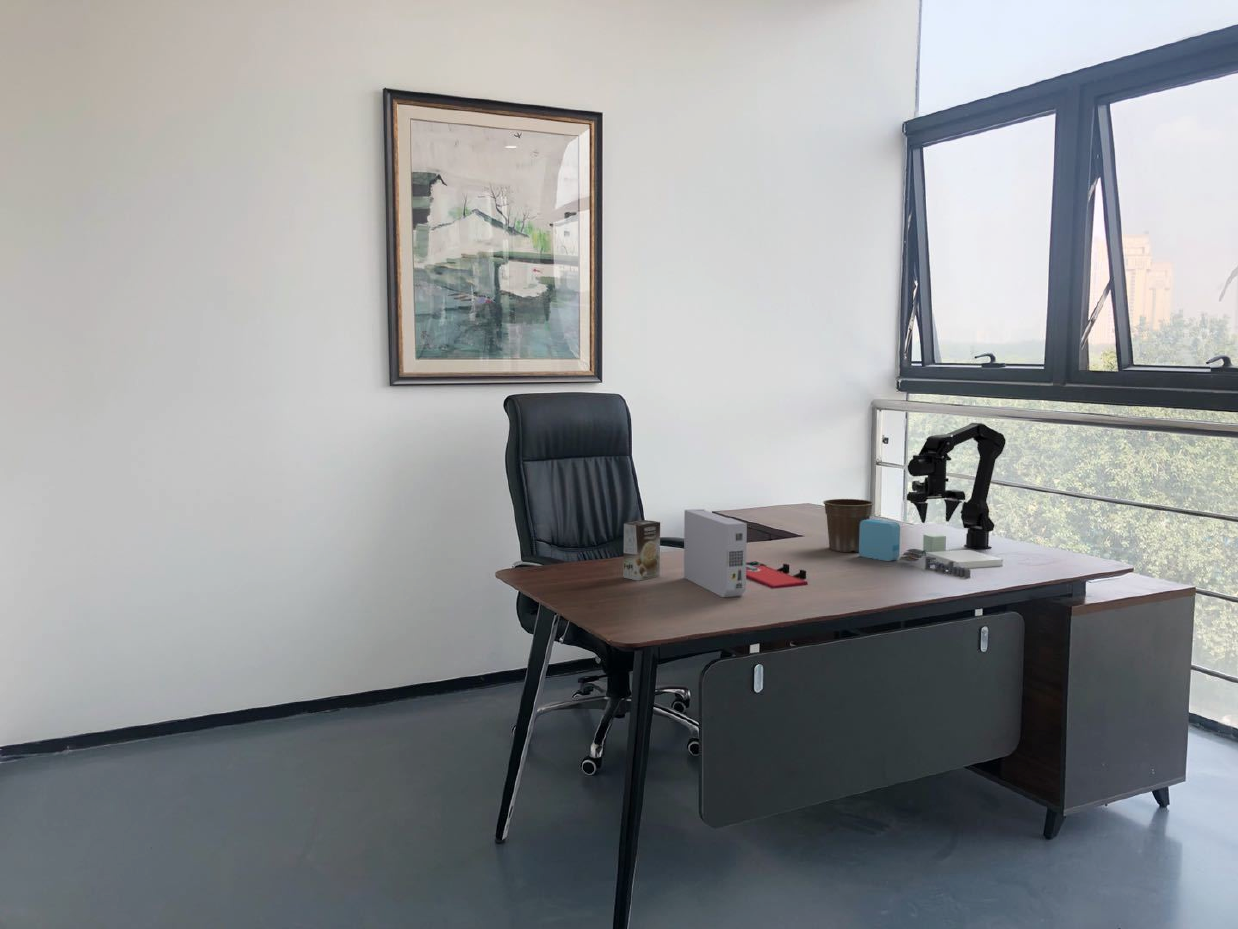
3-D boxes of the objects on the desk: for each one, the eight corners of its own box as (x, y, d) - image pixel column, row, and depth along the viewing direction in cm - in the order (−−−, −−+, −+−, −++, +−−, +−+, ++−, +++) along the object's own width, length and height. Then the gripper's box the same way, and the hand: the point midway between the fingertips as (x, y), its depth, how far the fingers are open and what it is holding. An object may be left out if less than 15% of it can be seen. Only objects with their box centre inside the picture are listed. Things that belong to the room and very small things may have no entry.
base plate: (968, 555, 299) (968, 549, 298) (1002, 565, 283) (1002, 559, 283) (926, 558, 294) (926, 552, 294) (958, 568, 279) (958, 562, 279)
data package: (899, 560, 292) (900, 522, 291) (891, 562, 289) (893, 524, 288) (866, 554, 301) (867, 518, 299) (858, 556, 298) (859, 519, 296)
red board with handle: (760, 563, 287) (718, 568, 281) (760, 554, 287) (718, 559, 281) (818, 585, 260) (773, 591, 254) (818, 575, 259) (773, 581, 253)
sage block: (935, 551, 306) (936, 533, 305) (945, 554, 301) (946, 536, 301) (922, 552, 305) (923, 534, 304) (932, 555, 300) (932, 537, 299)
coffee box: (638, 581, 262) (638, 525, 260) (622, 577, 267) (622, 522, 265) (660, 576, 268) (660, 521, 267) (644, 573, 273) (644, 519, 271)
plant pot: (815, 550, 307) (816, 502, 305) (831, 543, 320) (832, 497, 319) (863, 556, 298) (865, 506, 297) (878, 548, 312) (879, 500, 310)
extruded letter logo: (899, 563, 288) (899, 546, 287) (902, 563, 288) (903, 545, 288) (966, 579, 266) (967, 559, 266) (970, 578, 267) (970, 559, 267)
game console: (702, 576, 268) (702, 508, 266) (746, 598, 243) (747, 523, 241) (683, 578, 266) (684, 509, 264) (726, 599, 241) (727, 524, 239)
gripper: (945, 471, 311) (944, 517, 312) (897, 473, 305) (896, 519, 307) (967, 474, 300) (965, 522, 302) (917, 476, 295) (916, 525, 296)
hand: (935, 522), depth 302 cm, fingers open, 9 cm apart
